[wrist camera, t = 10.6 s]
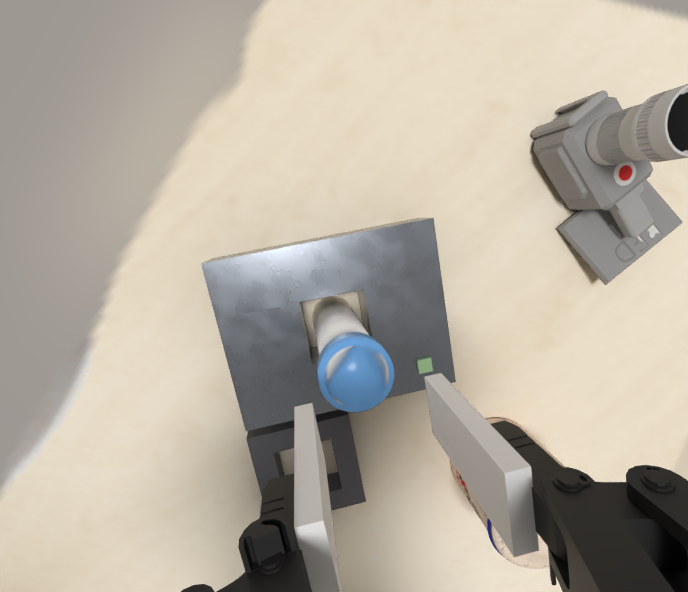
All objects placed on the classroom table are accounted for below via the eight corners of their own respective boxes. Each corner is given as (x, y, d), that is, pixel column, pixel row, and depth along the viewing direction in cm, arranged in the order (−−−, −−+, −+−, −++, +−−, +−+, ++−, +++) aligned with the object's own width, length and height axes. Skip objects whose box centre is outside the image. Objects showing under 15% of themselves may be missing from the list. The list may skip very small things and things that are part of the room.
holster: (271, 506, 38) (269, 526, 35) (249, 424, 36) (246, 438, 33) (361, 483, 38) (365, 501, 36) (344, 401, 37) (348, 414, 34)
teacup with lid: (429, 469, 39) (484, 571, 28) (483, 398, 38) (563, 472, 27) (515, 519, 42) (598, 631, 30) (567, 453, 41) (672, 543, 29)
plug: (314, 342, 35) (326, 420, 21) (304, 298, 34) (311, 349, 21) (359, 332, 35) (399, 402, 22) (350, 288, 35) (387, 332, 21)
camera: (733, 22, 22) (819, 226, 26) (583, 87, 34) (657, 223, 37) (614, 119, 23) (715, 308, 26) (505, 152, 34) (586, 280, 38)
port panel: (251, 408, 36) (245, 433, 31) (212, 258, 33) (200, 264, 28) (438, 365, 37) (456, 383, 33) (417, 218, 34) (434, 217, 30)
